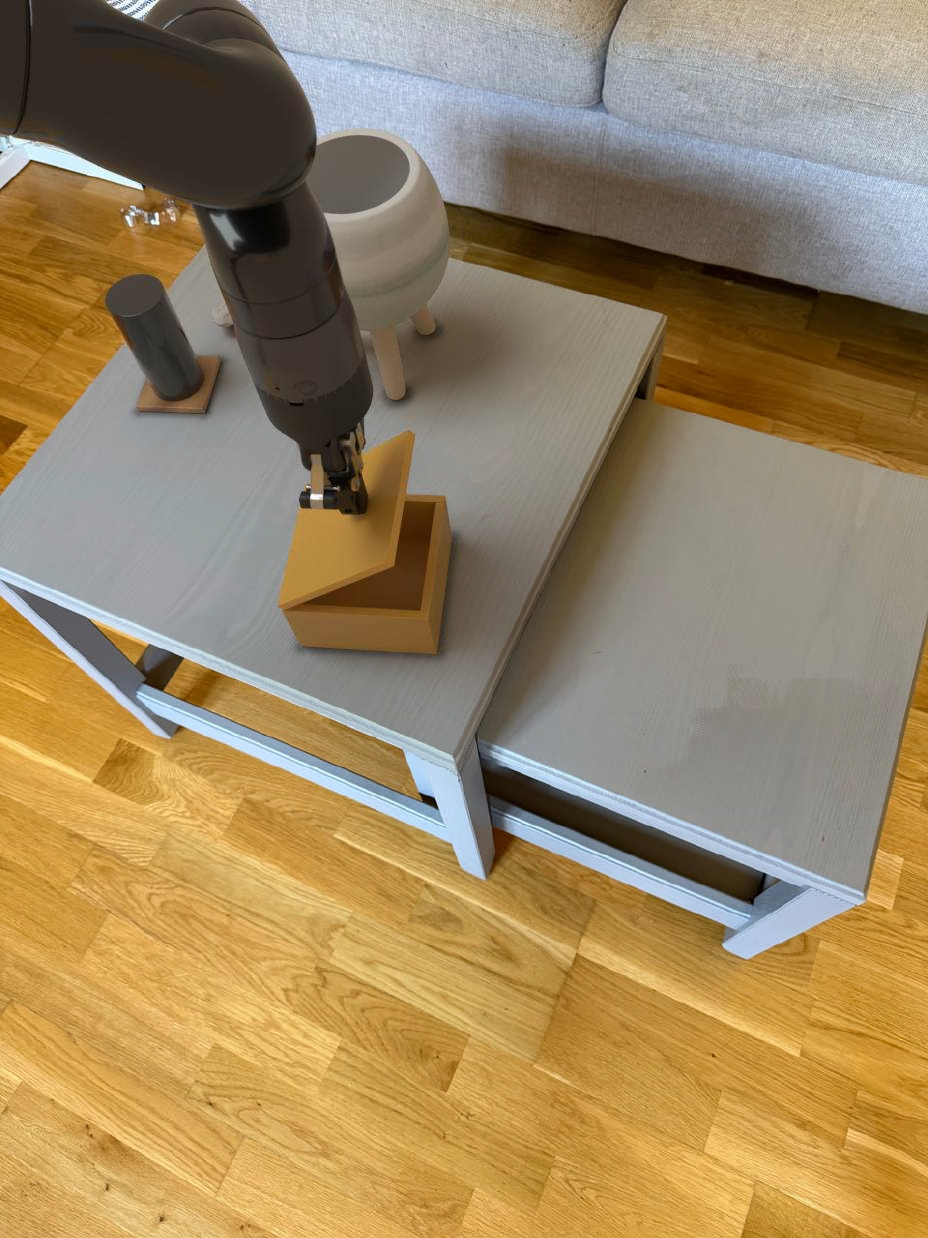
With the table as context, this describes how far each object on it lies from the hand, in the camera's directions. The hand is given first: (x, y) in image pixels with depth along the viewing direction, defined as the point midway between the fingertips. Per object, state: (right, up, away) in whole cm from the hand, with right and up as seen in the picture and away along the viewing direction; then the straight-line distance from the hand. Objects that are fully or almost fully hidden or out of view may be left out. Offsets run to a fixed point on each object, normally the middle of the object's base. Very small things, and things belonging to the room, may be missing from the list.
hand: (354, 506), depth 73 cm
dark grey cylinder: (-22, +17, +25) cm, 37 cm away
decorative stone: (-15, +25, +30) cm, 42 cm away
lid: (-1, -1, +2) cm, 2 cm away
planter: (+1, +19, +26) cm, 32 cm away
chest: (+1, -6, +12) cm, 13 cm away
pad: (-22, +16, +26) cm, 38 cm away
